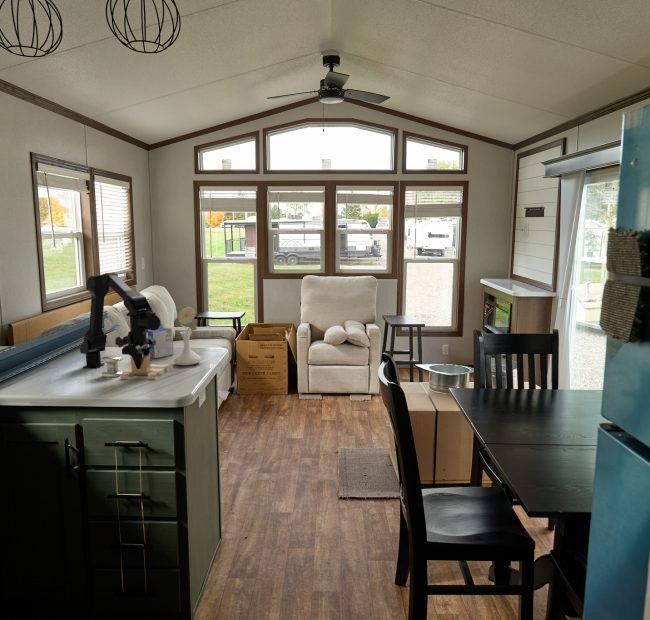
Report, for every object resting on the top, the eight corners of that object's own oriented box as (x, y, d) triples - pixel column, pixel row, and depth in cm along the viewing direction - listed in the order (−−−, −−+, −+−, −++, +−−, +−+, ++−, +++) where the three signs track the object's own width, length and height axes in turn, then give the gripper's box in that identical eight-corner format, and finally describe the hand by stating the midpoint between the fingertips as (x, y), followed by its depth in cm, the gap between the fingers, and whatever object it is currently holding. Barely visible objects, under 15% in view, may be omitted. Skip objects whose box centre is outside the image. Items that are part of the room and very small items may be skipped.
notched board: (137, 368, 237) (137, 364, 237) (170, 368, 236) (170, 364, 235) (120, 379, 221) (120, 374, 221) (155, 379, 220) (155, 374, 220)
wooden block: (136, 369, 225) (135, 355, 225) (150, 370, 225) (149, 355, 224) (131, 372, 221) (130, 357, 221) (146, 372, 221) (145, 357, 220)
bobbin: (108, 372, 232) (106, 355, 231) (127, 372, 231) (125, 355, 230) (98, 377, 224) (97, 360, 223) (118, 377, 223) (116, 360, 222)
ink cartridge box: (168, 353, 266) (166, 322, 264) (174, 354, 262) (172, 323, 260) (148, 356, 259) (146, 325, 257) (154, 358, 255) (152, 326, 253)
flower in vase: (168, 364, 243) (165, 306, 240) (191, 359, 252) (188, 303, 248) (186, 369, 235) (182, 309, 231) (209, 364, 243) (206, 305, 239)
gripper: (128, 324, 231) (131, 361, 233) (106, 332, 212) (109, 373, 215) (155, 324, 230) (157, 361, 232) (135, 332, 211) (138, 373, 213)
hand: (140, 367), depth 223 cm, fingers closed on wooden block, 4 cm apart
